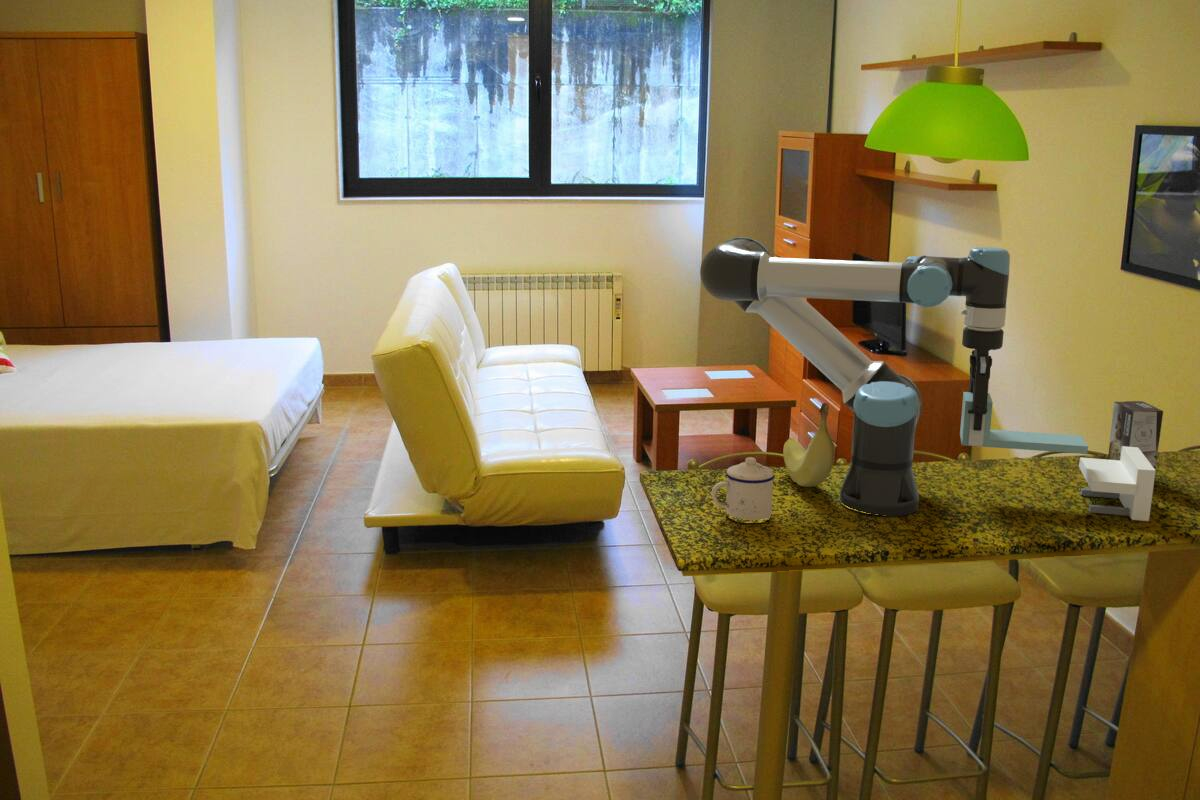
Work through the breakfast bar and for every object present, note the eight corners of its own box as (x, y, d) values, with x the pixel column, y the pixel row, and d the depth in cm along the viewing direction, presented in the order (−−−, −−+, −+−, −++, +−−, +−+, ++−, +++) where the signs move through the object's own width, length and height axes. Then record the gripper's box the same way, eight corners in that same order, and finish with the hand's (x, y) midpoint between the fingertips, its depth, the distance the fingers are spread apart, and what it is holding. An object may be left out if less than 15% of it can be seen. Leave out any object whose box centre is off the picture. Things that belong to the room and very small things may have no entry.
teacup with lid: (762, 507, 212) (764, 450, 210) (780, 523, 204) (782, 463, 201) (703, 511, 210) (705, 453, 207) (719, 528, 201) (721, 467, 198)
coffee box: (1155, 486, 226) (1164, 411, 222) (1123, 486, 226) (1133, 410, 223) (1134, 472, 235) (1143, 400, 231) (1104, 472, 235) (1113, 400, 231)
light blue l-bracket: (961, 445, 215) (965, 401, 213) (959, 434, 223) (963, 391, 221) (1087, 453, 210) (1092, 408, 208) (1080, 442, 217) (1085, 398, 215)
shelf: (1088, 515, 208) (1094, 465, 206) (1076, 490, 223) (1081, 443, 221) (1148, 521, 206) (1155, 470, 203) (1132, 494, 221) (1138, 447, 218)
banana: (775, 469, 236) (779, 379, 231) (800, 468, 237) (805, 378, 232) (808, 503, 214) (814, 405, 210) (837, 502, 215) (843, 404, 210)
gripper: (960, 318, 224) (952, 425, 229) (966, 335, 204) (956, 452, 210) (999, 319, 222) (989, 427, 227) (1008, 337, 202) (998, 455, 208)
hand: (973, 439), depth 219 cm, fingers closed on light blue l-bracket, 8 cm apart
